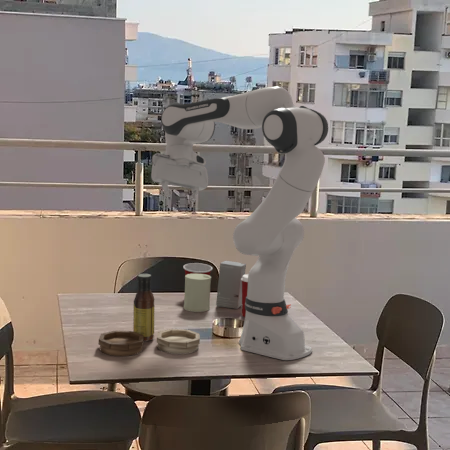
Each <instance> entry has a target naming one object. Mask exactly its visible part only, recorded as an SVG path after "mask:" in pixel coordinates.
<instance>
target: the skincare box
mask: <svg viewBox="0 0 450 450" xmlns="http://www.w3.org/2000/svg"><path fill="white" fill-rule="evenodd" d="M246 268H247V263H243V262H237V261H231V260H230V261H229V260H224V261H221V262H220V265H219V273H218V274H219V275H218V282H217V292H216V304H215V306H216V307H217V308H218V307H219V308H227V309H235V310H238V309H239V308H241V307H242V280H241V279H242V276H243V275H245V274H246Z"/></svg>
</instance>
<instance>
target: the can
mask: <svg viewBox="0 0 450 450" xmlns="http://www.w3.org/2000/svg"><path fill="white" fill-rule="evenodd" d="M184 279H185V280H184V302H183V309H184V311H185V310H186V311H187V312H192V313H194V312H195V313H204V312H208V311H210V308H211V307H210V301H211V299H210V298H211V281H212V276H211V275H206V274H187V275H185V276H184Z"/></svg>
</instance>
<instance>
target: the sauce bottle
mask: <svg viewBox="0 0 450 450" xmlns="http://www.w3.org/2000/svg"><path fill="white" fill-rule="evenodd" d="M151 281H152V274H149V273H140V274H137V291H136V294H135V296H134V300H133V318H132V319H133V323H132V324H133V325H132V326H133V328H132V329H133V332H136V333H139V334H141V335H143V336H144V341H143V342H149V341H152V340H153V339H154V336H155V296H154V294H153V292H152V290H151V288H152V287H151V284H152V283H151Z"/></svg>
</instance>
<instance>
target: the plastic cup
mask: <svg viewBox="0 0 450 450" xmlns="http://www.w3.org/2000/svg"><path fill="white" fill-rule="evenodd" d="M183 269H184V273H185V275H187V274H206V275H209V276H211V272H212V271H213V266H211V265H209V264H206V263H201V262H200V263H199V262H194V263H193V262H192V263H191V262H190V263H186V264H184V265H183Z"/></svg>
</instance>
